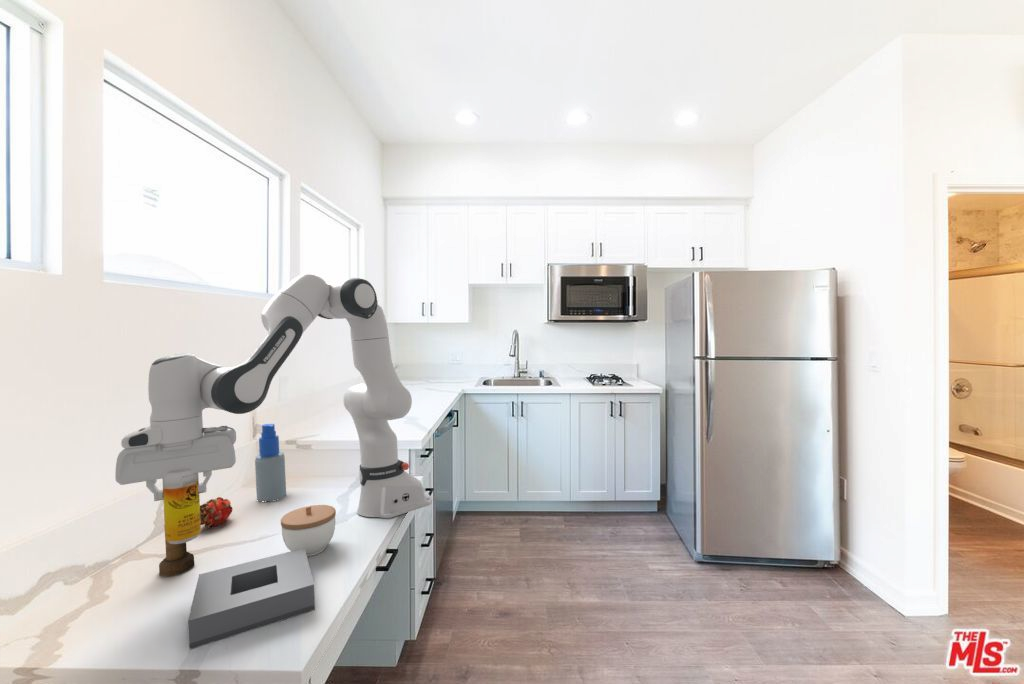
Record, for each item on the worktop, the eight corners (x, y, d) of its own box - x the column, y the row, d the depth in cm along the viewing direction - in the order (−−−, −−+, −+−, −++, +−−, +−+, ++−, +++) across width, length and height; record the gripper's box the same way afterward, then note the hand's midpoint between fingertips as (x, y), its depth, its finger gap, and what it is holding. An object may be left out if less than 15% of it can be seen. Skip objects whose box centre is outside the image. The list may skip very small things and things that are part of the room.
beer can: (183, 546, 91) (179, 473, 90) (157, 544, 92) (154, 472, 91) (208, 532, 97) (205, 464, 96) (184, 531, 98) (181, 463, 97)
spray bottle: (251, 499, 151) (248, 425, 150) (278, 491, 158) (275, 421, 158) (264, 504, 145) (261, 428, 145) (291, 495, 153) (288, 423, 152)
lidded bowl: (284, 545, 115) (282, 502, 115) (336, 534, 120) (334, 494, 120) (280, 567, 104) (278, 520, 104) (338, 555, 109) (336, 510, 109)
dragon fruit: (199, 540, 123) (223, 528, 135) (225, 520, 125) (247, 510, 137) (181, 516, 124) (207, 506, 136) (207, 496, 125) (231, 488, 137)
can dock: (305, 569, 102) (304, 548, 102) (315, 609, 87) (313, 584, 87) (200, 598, 92) (199, 574, 92) (189, 649, 77) (187, 620, 77)
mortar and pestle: (156, 579, 100) (152, 500, 100) (162, 567, 106) (159, 492, 106) (191, 571, 104) (188, 494, 103) (196, 559, 109) (192, 486, 109)
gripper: (235, 422, 102) (239, 482, 102) (119, 435, 91) (123, 502, 92) (234, 426, 96) (238, 489, 97) (110, 441, 86) (114, 512, 86)
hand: (181, 496), depth 94 cm, fingers closed on beer can, 6 cm apart
